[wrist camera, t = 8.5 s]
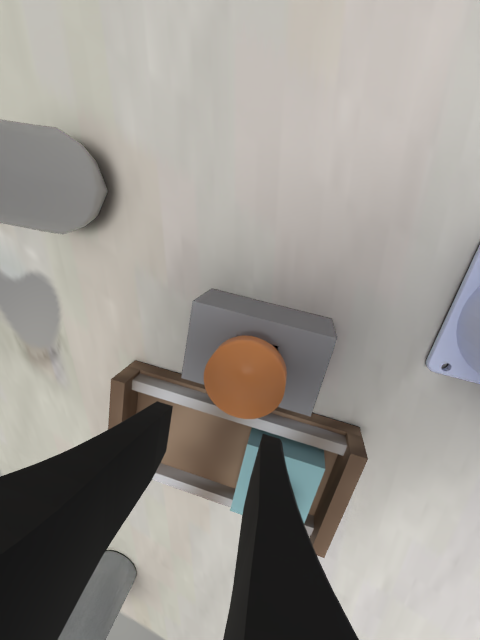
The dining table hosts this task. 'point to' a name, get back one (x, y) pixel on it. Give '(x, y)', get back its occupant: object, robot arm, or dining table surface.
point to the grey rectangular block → (270, 325)
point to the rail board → (237, 444)
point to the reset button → (246, 377)
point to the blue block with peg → (301, 467)
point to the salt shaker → (47, 179)
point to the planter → (101, 599)
